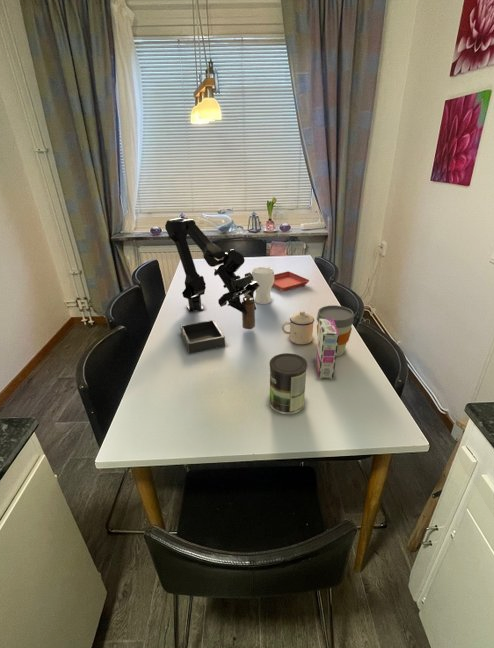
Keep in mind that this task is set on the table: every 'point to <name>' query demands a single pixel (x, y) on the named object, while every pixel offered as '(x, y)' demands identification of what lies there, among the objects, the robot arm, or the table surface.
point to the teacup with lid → (300, 328)
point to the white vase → (263, 283)
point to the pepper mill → (248, 312)
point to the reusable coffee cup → (338, 323)
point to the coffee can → (287, 383)
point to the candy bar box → (326, 348)
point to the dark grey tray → (202, 336)
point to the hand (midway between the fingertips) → (250, 311)
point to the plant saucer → (288, 281)
